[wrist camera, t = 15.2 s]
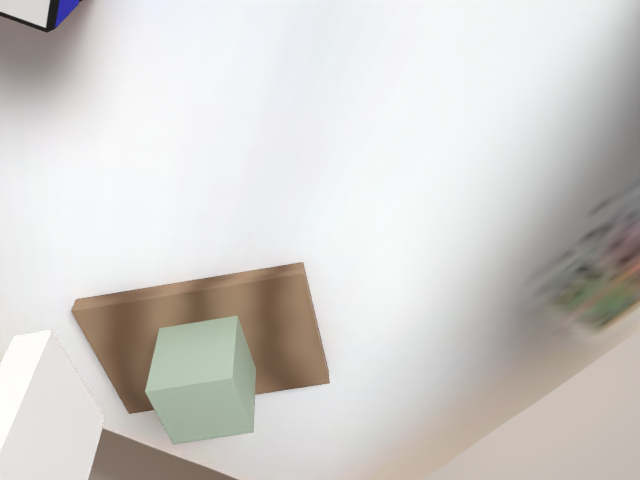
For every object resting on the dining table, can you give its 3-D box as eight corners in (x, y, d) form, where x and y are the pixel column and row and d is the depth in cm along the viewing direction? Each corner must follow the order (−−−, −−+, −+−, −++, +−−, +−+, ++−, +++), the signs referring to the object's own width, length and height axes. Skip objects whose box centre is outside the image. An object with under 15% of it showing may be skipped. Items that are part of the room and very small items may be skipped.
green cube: (237, 315, 52) (232, 378, 47) (255, 368, 57) (253, 432, 51) (159, 328, 53) (145, 391, 47) (183, 380, 57) (172, 444, 51)
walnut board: (303, 262, 51) (303, 273, 50) (328, 371, 60) (329, 383, 58) (76, 299, 52) (71, 311, 51) (132, 401, 61) (129, 413, 59)
